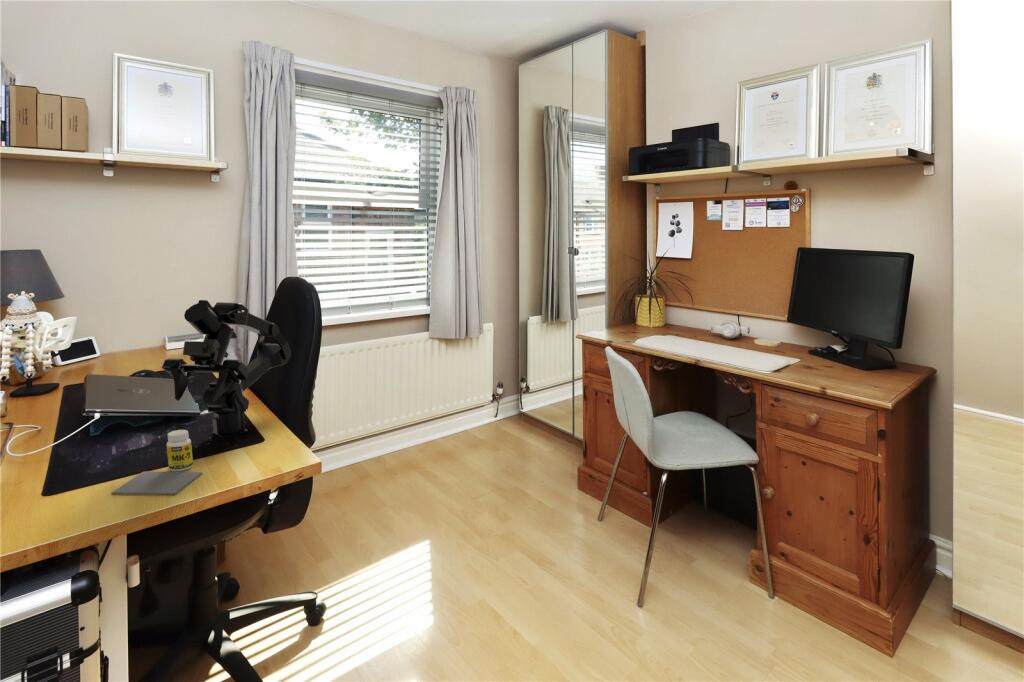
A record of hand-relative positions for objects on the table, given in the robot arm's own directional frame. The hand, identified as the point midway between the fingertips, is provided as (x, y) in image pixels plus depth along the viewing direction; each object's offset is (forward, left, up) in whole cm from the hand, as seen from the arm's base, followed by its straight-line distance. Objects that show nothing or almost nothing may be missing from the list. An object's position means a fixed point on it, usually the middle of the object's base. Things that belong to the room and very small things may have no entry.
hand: (194, 400), depth 130 cm
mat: (+12, +11, -13) cm, 21 cm away
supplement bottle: (+6, +5, -14) cm, 16 cm away
